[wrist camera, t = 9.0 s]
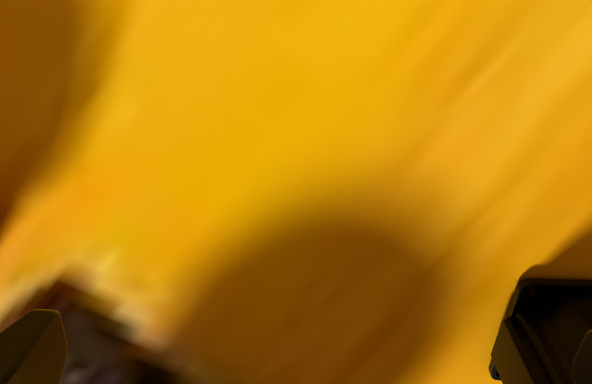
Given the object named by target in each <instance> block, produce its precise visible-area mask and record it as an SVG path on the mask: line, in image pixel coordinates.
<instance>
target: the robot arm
mask: <svg viewBox="0 0 592 384" xmlns="http://www.w3.org/2000/svg"><path fill="white" fill-rule="evenodd" d="M530 288H531V289H530ZM527 289H530V290H528V291H526V290H527ZM66 355H67V343H66V339H65V334H64V329H63V324H62V319H61V316H60V314H59V312H58V311H56V310H43V309H35V310H31V311H29V312H28V313H26V314H25V315H24V316H22V317H21V318H20V319H18V320H17V321H16V322H14V323H13V324H12V325H10V326H9V327H8V328H6V329H5V330H4V331H2V332H1V333H0V384H59V382H60V378H61V375H62V371H63V368H64V364H65V360H66ZM491 357H492V359H491V362H490V365H489V372H490V375H491V377H492V378H493V379H495V380H501V381H502V383H503V384H592V280H563V279H524V280H522V281H521V282H519V283H518V285H517V286H516V289H515V292H514V295H513V298H512V301H511V304H510V307H509V310H508V313H507V316H506V317H505V318H504V320H503V321H502V323H501V326H500V329H499V332H498V335H497V338H496V341H495V344H494V347H493V350H492V353H491Z"/></svg>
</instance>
